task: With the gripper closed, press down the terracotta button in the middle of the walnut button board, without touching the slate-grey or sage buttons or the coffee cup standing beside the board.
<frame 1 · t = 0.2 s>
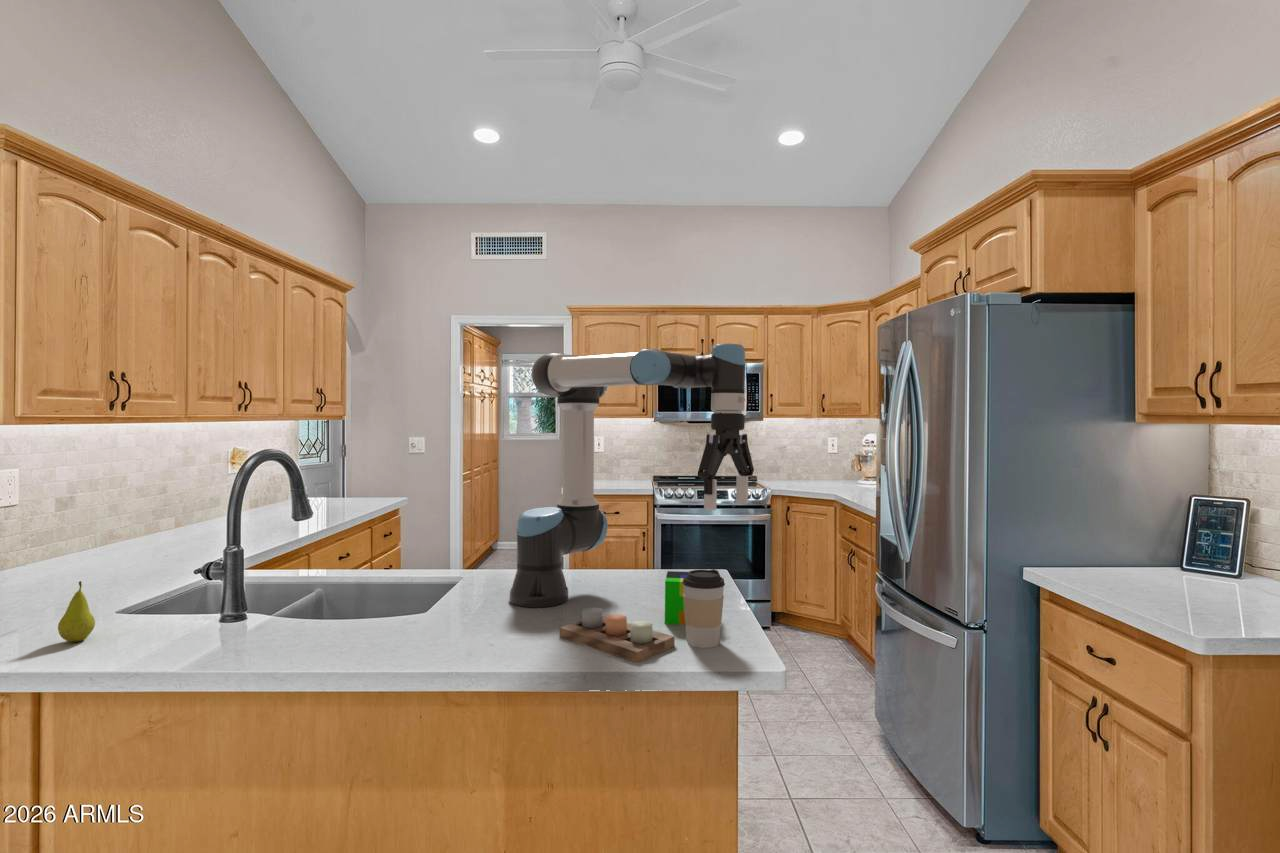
hand: (726, 506, 142), 28 cm above the countertop, fingers open, 13 cm apart
button board: (615, 641, 133), on the countertop
button sage: (641, 632, 129), point 3 cm above the countertop, slide at 0.0 cm
coffee cup: (702, 642, 133), on the countertop
puzzle toy: (686, 619, 149), on the countertop
button terracotta: (616, 625, 133), point 3 cm above the countertop, slide at 0.0 cm
fruit: (76, 642, 130), on the countertop
button grey: (592, 618, 138), point 3 cm above the countertop, slide at 0.0 cm
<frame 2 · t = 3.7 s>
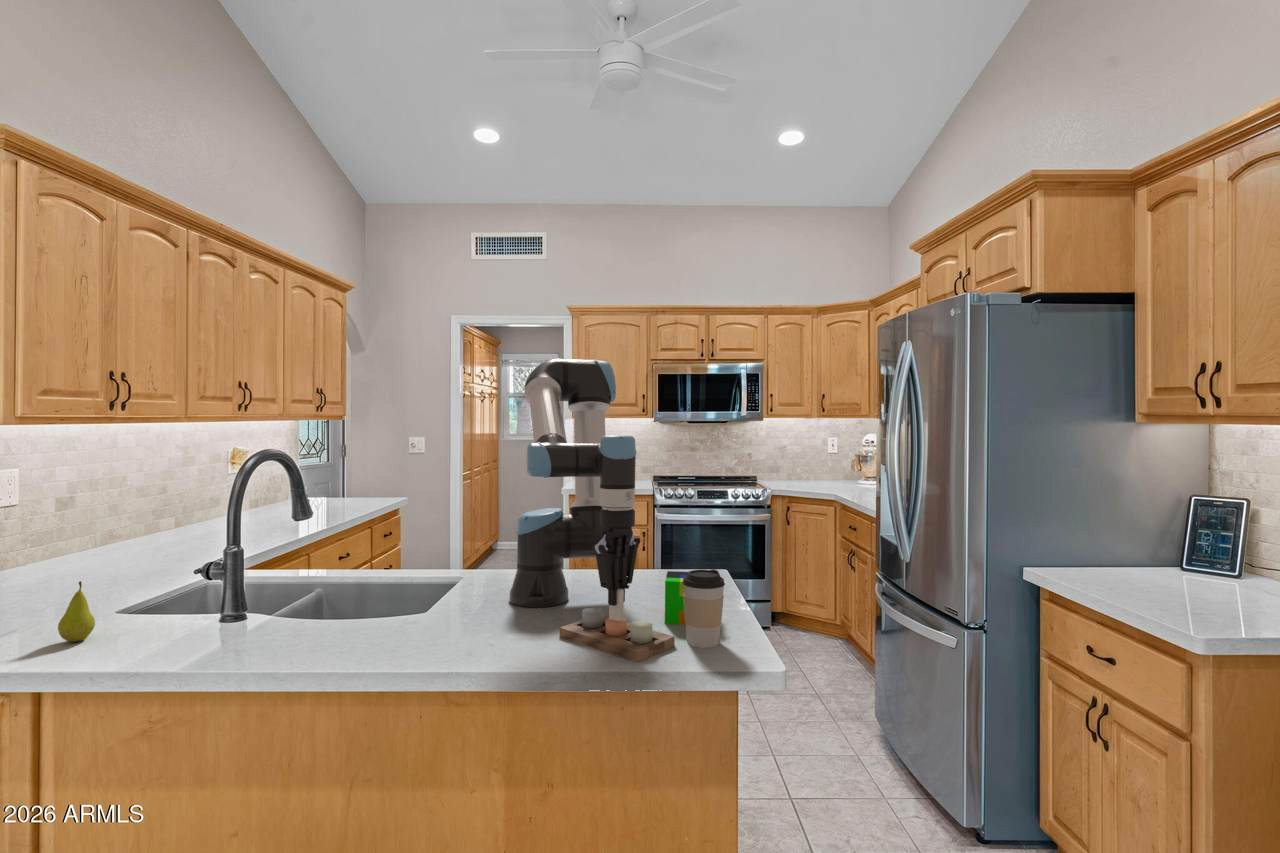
hand: (616, 619, 133), 5 cm above the countertop, fingers closed
button terracotta: (616, 628, 133), point 3 cm above the countertop, slide at 0.7 cm, touching gripper
everything else where it was.
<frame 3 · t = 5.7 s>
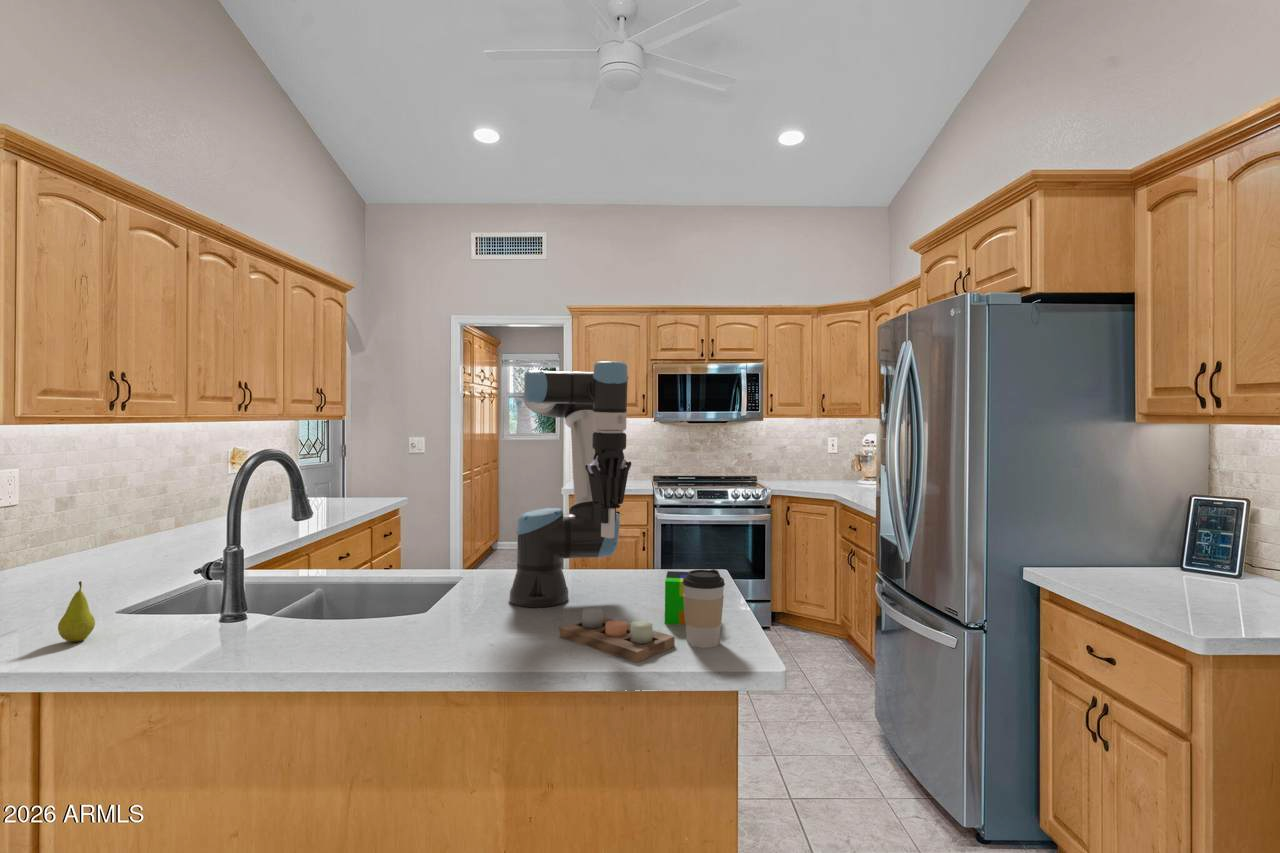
hand: (607, 536, 140), 21 cm above the countertop, fingers closed
button terracotta: (616, 631, 133), point 2 cm above the countertop, slide at 1.3 cm
everything else where it was.
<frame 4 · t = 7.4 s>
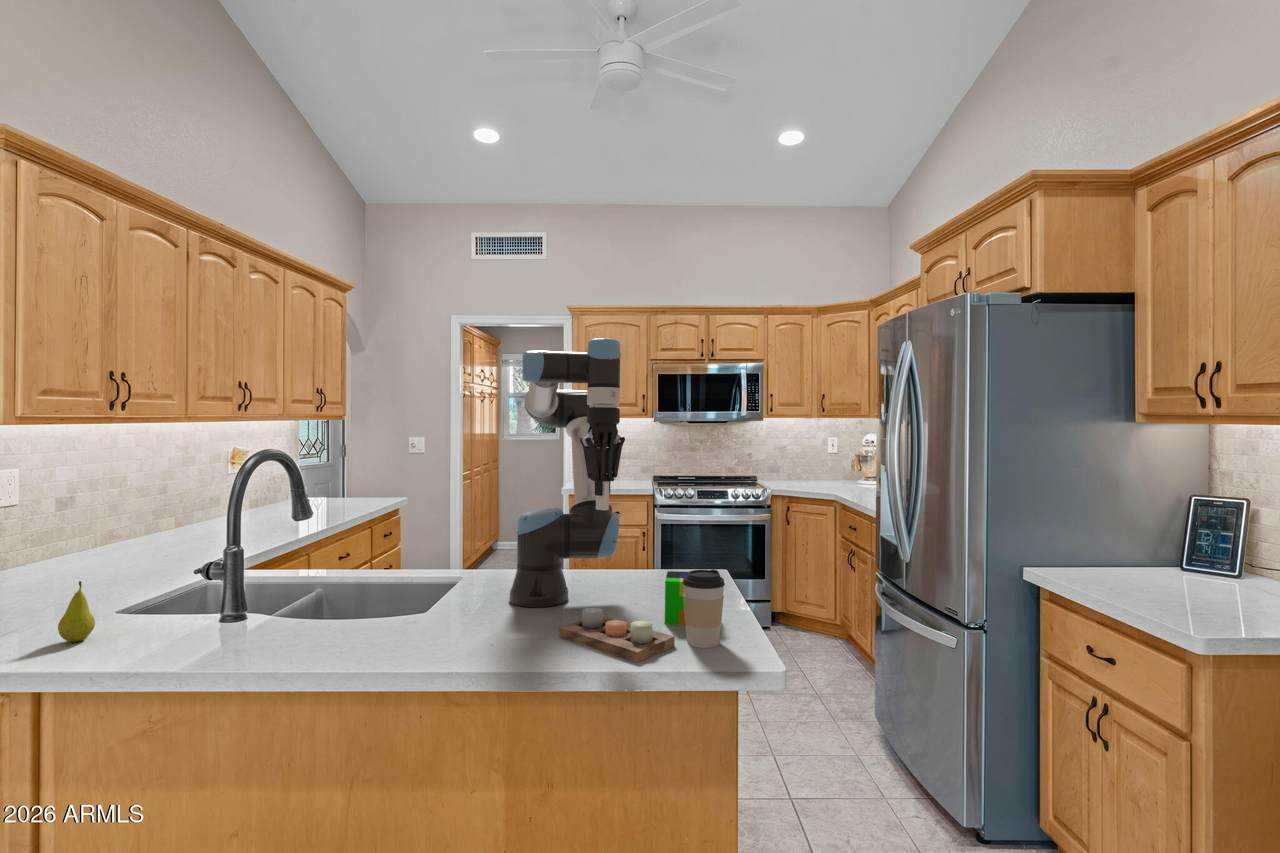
hand: (602, 509, 144), 26 cm above the countertop, fingers closed
nothing on the countertop moved.
at the end: button terracotta slide at 1.3 cm; button grey slide at 0.0 cm; button sage slide at 0.0 cm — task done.
